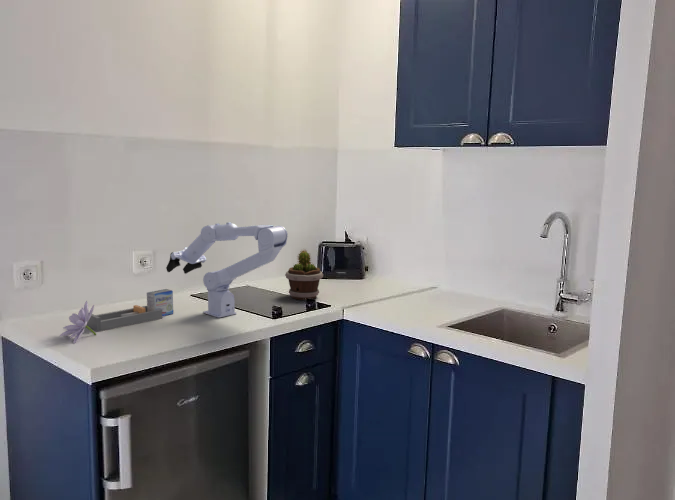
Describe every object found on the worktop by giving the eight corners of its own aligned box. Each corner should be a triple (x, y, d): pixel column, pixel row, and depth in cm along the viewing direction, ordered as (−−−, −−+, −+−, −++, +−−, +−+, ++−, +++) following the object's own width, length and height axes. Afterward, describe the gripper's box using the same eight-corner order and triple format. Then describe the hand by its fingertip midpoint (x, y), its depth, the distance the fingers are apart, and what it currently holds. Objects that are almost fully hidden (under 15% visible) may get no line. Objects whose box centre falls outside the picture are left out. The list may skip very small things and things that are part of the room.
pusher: (145, 319, 202) (145, 308, 202) (125, 323, 197) (125, 311, 197) (136, 316, 206) (136, 305, 206) (117, 320, 201) (116, 308, 200)
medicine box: (154, 318, 205) (154, 293, 204) (147, 316, 208) (146, 291, 207) (173, 314, 212) (173, 290, 210) (165, 311, 214) (165, 288, 213)
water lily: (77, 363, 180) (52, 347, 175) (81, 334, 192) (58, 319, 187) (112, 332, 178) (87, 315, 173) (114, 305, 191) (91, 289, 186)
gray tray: (162, 318, 205) (162, 305, 205) (97, 331, 189) (96, 318, 188) (148, 313, 211) (148, 301, 211) (84, 326, 194) (83, 312, 194)
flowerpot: (322, 302, 234) (322, 251, 231) (283, 301, 234) (283, 250, 231) (323, 293, 248) (324, 246, 245) (286, 293, 248) (287, 245, 245)
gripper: (209, 242, 222) (188, 263, 228) (177, 237, 210) (156, 260, 216) (215, 257, 219) (194, 278, 225) (184, 253, 207) (162, 276, 213)
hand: (176, 270), depth 220 cm, fingers open, 7 cm apart
